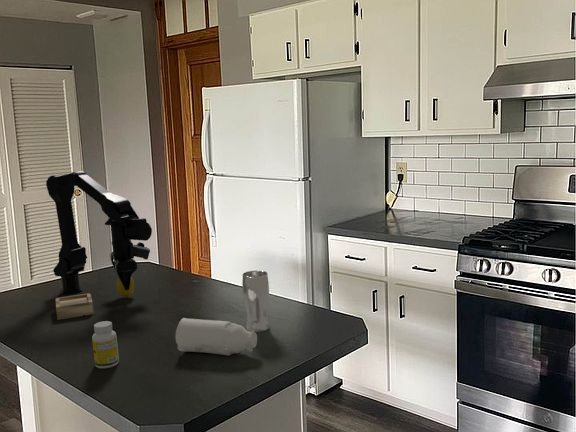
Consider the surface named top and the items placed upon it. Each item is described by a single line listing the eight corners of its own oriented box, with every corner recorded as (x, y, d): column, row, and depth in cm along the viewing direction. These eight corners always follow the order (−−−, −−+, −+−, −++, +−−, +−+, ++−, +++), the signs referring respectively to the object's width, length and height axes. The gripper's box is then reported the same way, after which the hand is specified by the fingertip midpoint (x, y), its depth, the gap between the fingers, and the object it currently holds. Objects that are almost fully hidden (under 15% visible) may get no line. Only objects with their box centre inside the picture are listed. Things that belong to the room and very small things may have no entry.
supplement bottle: (98, 360, 134) (94, 320, 133) (121, 358, 135) (117, 319, 133) (92, 370, 129) (88, 328, 128) (116, 368, 130) (112, 327, 128)
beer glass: (274, 324, 153) (272, 270, 151) (265, 334, 147) (262, 277, 144) (250, 322, 156) (247, 269, 153) (240, 331, 149) (237, 276, 147)
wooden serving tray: (56, 309, 174) (55, 298, 173) (91, 304, 178) (90, 293, 177) (57, 319, 165) (56, 307, 164) (93, 314, 168) (92, 301, 168)
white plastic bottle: (249, 363, 129) (247, 330, 128) (175, 356, 135) (173, 324, 134) (261, 350, 137) (260, 318, 135) (190, 343, 143) (189, 313, 141)
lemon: (130, 300, 180) (128, 276, 179) (114, 300, 181) (112, 275, 180) (138, 295, 186) (136, 271, 184) (122, 295, 187) (120, 271, 185)
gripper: (151, 241, 175) (155, 290, 177) (142, 231, 192) (146, 276, 195) (114, 245, 171) (118, 295, 173) (108, 235, 188) (112, 280, 190)
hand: (125, 286), depth 183 cm, fingers open, 9 cm apart
